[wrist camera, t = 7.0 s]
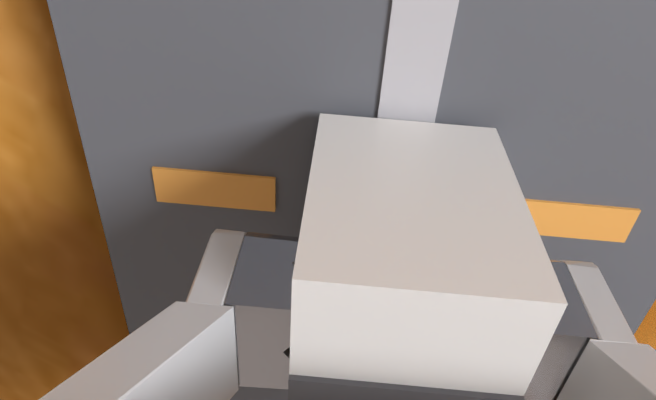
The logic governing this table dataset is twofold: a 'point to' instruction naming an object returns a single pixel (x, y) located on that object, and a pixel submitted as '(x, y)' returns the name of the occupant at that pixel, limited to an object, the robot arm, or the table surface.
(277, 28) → the console
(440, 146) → the block
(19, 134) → the table surface
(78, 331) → the table surface
